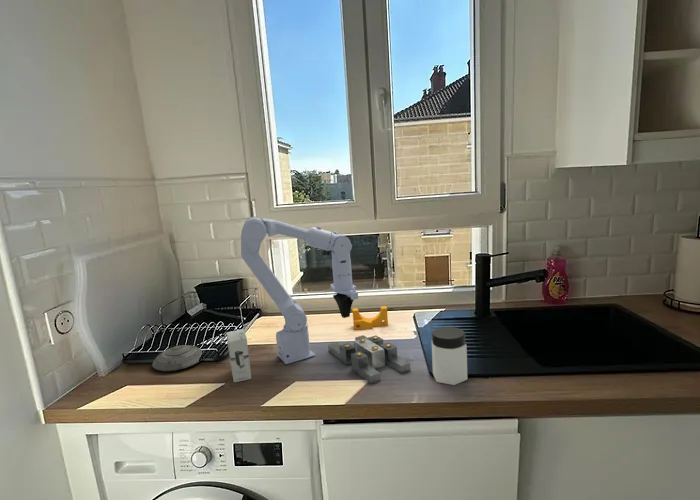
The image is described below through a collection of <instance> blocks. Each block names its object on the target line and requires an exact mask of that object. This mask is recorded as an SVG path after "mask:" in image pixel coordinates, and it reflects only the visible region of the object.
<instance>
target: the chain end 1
mask: <svg viewBox="0 0 700 500" xmlns="http://www.w3.org/2000/svg"><path fill="white" fill-rule="evenodd" d="M354 338H355V339H354V341H357V340H359V339H361V338H367V339H368V340H370V341H372V342H373V343H375V344H377V345H378V346H380V345H382V344H384V338H381V337H380V336H378V335H373V336H369V337H367V336H365V335H359V336H356V337H354ZM327 349H328V352H329V353H330V354H332V355H333V356H334V357H336V359H338V360H340V361H341V362H342V363H343V364H344V365H346V366H350V365H352V363H351V354H352V353H355V347H354V345H352V344H351V343H349V342H348V343H344V344H340V343H338V342H335V343H331V344H328V345H327Z"/></svg>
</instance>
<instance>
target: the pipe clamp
mask: <svg viewBox="0 0 700 500" xmlns="http://www.w3.org/2000/svg"><path fill="white" fill-rule="evenodd" d="M351 310H352V320H353V322H352V323H353V331H357V330H358V331H359V330H372V329H373V327H374V328H376V327H388V326H389V320H388V317H389V316H388V307H387V306H386V305H383V306H380V310H379V312H378V314H377V315H376V316H374V317H370V318H368V317H364V316H362V314H361V313H360V311H359V308H355V307H354V308H351Z"/></svg>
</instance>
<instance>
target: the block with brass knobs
mask: <svg viewBox="0 0 700 500" xmlns="http://www.w3.org/2000/svg"><path fill="white" fill-rule="evenodd" d="M367 338H368V337H367ZM367 338H361V339H359V340H357V341H355V340H354V341H353V347H355V353H356V352H359V351H361V352H362V353H364V354H365V355H367V356H368V365H369V366H371V367H372V368H374V369H375V370H376V369H378V368H381V367H384V366H386V363H385V355H384V349H383V348H382V347H380V346H378V345H377V344H375V343H373V342H372V341H370V340H368V339H367Z"/></svg>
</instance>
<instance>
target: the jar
mask: <svg viewBox="0 0 700 500" xmlns="http://www.w3.org/2000/svg"><path fill="white" fill-rule="evenodd" d="M431 337H432V338H431V341H430V342H431V360H432V363H431V366H432V375H433V377H434V380H435V382H436V383H441V384H444V385H445V384H446V385H452V386H456V385H458V384H460V383H462V382H463V383H464V382H465V381H467V380H468V350H467V348H468V347H467V344H466V331H464V330H463V329H461V328H457V327H453V326H442V327H438V328H435V329H433V331H432V332H431Z"/></svg>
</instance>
